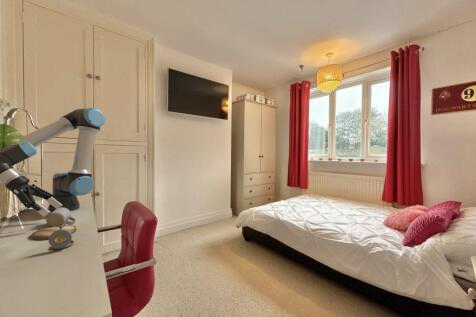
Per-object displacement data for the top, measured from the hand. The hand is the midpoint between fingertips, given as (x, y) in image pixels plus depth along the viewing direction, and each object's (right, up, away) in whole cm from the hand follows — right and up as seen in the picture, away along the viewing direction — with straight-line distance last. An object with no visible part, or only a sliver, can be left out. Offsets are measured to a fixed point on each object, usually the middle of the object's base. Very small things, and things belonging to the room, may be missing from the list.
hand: (54, 210), depth 99 cm
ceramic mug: (+2, -8, +2) cm, 8 cm away
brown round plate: (+9, -8, -10) cm, 15 cm away
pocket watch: (+24, -8, -22) cm, 34 cm away
